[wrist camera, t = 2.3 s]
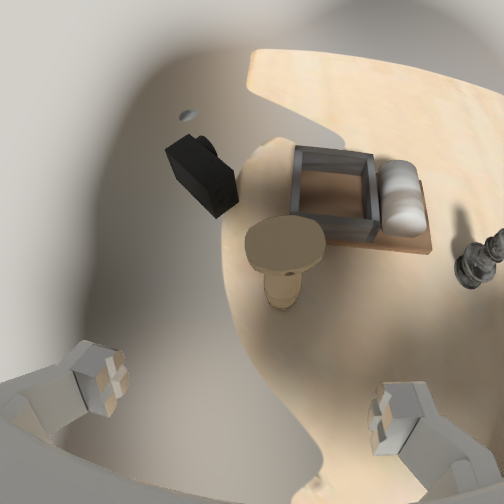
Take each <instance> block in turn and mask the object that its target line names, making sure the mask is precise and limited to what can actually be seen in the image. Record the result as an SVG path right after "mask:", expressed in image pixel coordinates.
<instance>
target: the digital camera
mask: <svg viewBox="0 0 504 504" xmlns="http://www.w3.org/2000/svg"><path fill="white" fill-rule="evenodd" d="M165 152H166V154H167V157H168V160H169V162H170V165H171V167H172V169H173V172H174V174H175V177H176V179H177V180H178V181H179V182H180V183H181V184H182V185H183V186H184V187H185V188H186V189H187V190H188V191H189V192H190V193H191V194H192V195H193V196H194V197H195V198H196V199H197V200H198V201H199V202H200V203H201V204H202V205H203V206H204V207H205V208H206V209H207V210H208V211H209V212H210V213H211V214H212V215H213V216H214V217H215V219H217V218H218V217H219V216H221V215H222V214H223V213H225V212H226V211H227V210H229V209H230V208H231V207H233V206H234V205H235V204H237V203H238V202H239V199H238V193H237V187H236V181H235V176H234V171H233V170H232V169H231V168H230V167H229V166H227V165H226V164H225V163H224V162H223V161H222V160H220V159H219V158H218V157H217V153H216V151H215V149H214V147H213V145H212V144H211V143H210V141H209V140H208V139H207V138H206V137H204V136H199V137H198V138H196V139H195V138H194V137H192V136H191V135H190V134H188V135H186V136H185V137H183V138H181V139H180V140H178V141H177V142H175V143H174V144H172V145H171V146H169V147H168V148H166V149H165ZM229 198H230V199H229ZM231 199H232V200H231ZM228 200H229V201H228Z"/></svg>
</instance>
